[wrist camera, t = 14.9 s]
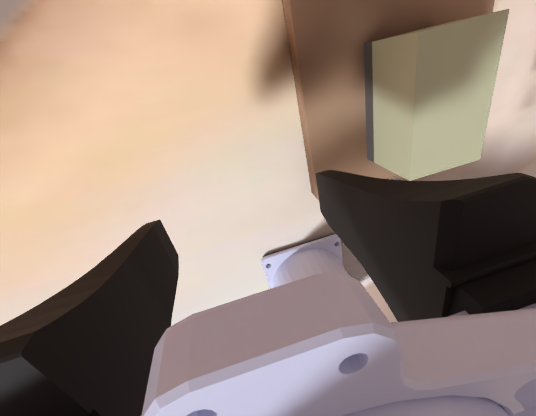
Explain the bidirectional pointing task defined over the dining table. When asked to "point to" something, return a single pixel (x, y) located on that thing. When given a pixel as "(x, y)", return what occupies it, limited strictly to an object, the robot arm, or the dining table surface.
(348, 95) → the walnut board
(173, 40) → the dining table surface
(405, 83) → the block
